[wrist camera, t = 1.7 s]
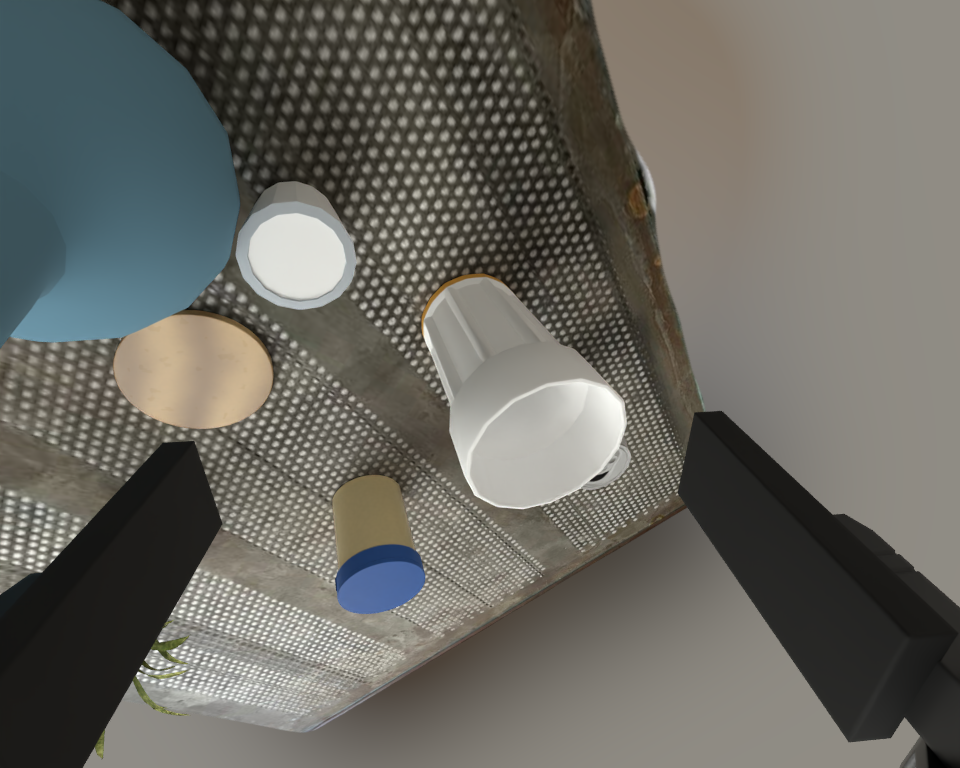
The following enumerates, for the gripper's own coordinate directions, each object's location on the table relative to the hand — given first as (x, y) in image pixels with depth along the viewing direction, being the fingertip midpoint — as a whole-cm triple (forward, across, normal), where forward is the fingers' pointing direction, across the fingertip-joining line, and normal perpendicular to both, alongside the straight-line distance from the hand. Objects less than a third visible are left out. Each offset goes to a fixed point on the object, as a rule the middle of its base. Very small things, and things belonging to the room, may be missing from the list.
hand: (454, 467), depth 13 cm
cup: (+31, +2, -6) cm, 32 cm away
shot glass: (+26, -10, +3) cm, 29 cm away
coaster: (+26, -20, -8) cm, 34 cm away
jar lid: (+22, -8, -29) cm, 37 cm away
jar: (+32, -10, -27) cm, 43 cm away
